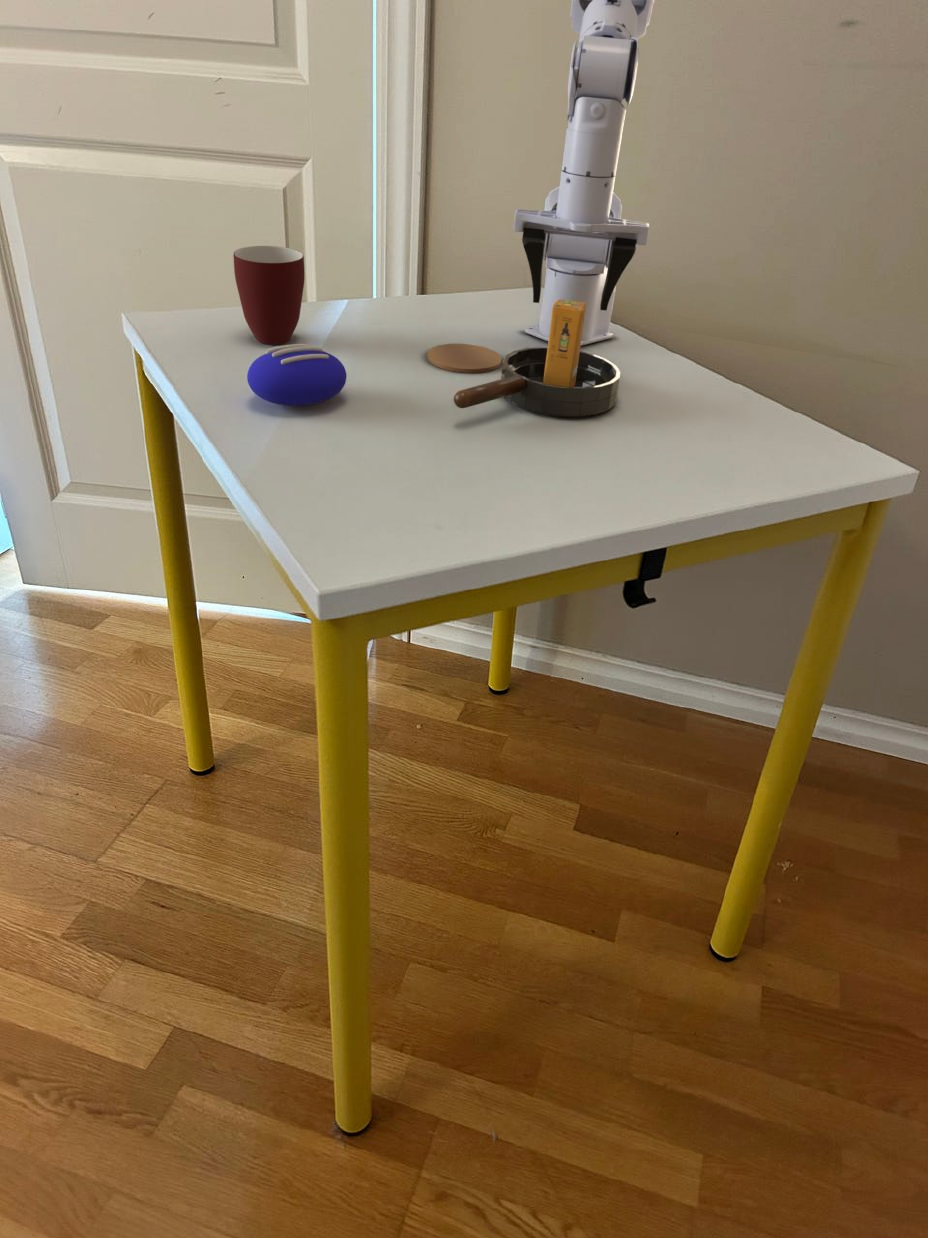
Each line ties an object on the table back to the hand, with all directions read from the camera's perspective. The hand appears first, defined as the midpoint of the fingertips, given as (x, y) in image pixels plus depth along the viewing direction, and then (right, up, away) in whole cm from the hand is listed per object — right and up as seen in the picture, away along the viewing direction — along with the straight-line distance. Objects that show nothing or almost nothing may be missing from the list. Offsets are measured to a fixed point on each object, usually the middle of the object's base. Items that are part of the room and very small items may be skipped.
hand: (569, 304), depth 101 cm
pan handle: (-9, -13, -8) cm, 18 cm away
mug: (-36, -1, +9) cm, 37 cm away
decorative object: (-30, -13, -7) cm, 33 cm away
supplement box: (-1, -11, -1) cm, 11 cm away
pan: (-1, -11, -1) cm, 11 cm away
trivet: (-12, -4, +7) cm, 15 cm away
